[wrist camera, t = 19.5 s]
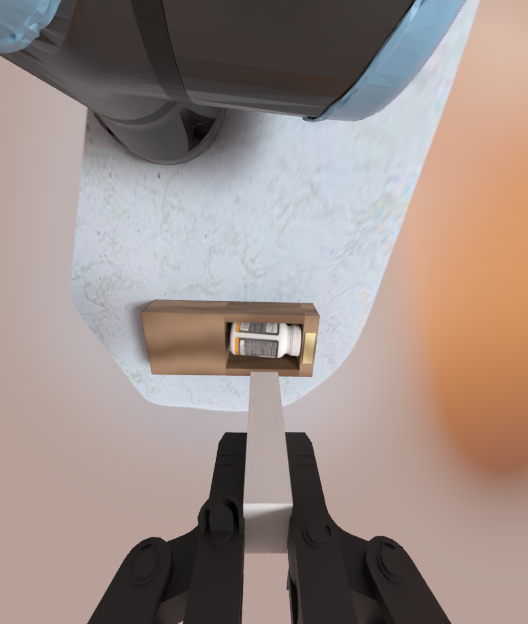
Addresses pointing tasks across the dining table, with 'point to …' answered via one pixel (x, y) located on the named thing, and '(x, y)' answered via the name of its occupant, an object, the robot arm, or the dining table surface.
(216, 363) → the brown wooden open box
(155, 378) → the dining table surface
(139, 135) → the robot arm
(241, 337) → the pill bottle
